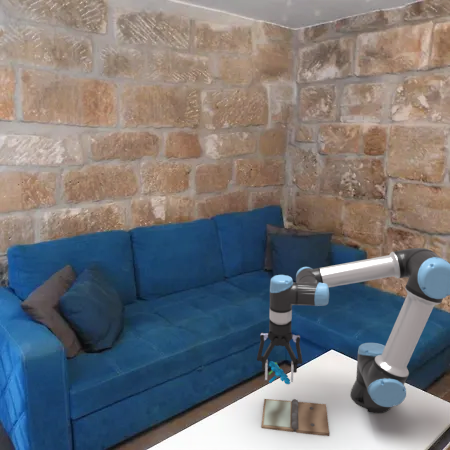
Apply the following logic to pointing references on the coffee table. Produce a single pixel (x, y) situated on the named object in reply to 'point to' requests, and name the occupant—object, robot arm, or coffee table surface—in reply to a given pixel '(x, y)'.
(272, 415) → the hinge board
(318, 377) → the coffee table surface
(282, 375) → the gear
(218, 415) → the coffee table surface
